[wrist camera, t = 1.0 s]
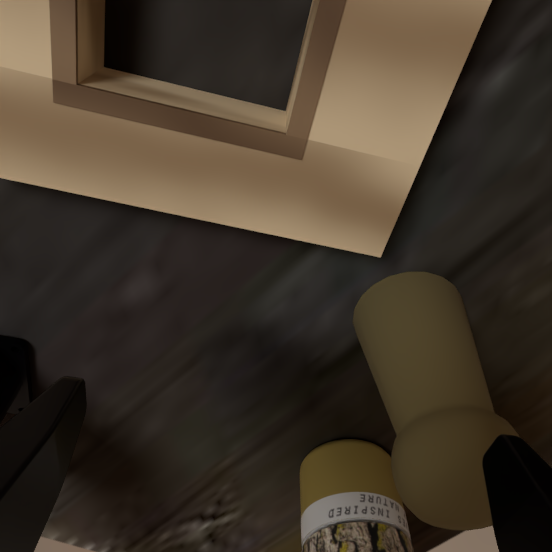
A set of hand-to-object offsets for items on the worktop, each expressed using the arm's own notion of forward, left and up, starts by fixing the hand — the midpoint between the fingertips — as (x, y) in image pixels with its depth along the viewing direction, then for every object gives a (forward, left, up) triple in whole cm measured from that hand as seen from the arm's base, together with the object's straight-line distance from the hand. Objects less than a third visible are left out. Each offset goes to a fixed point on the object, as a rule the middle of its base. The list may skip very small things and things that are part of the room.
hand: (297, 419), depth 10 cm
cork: (-7, -8, -14) cm, 18 cm away
